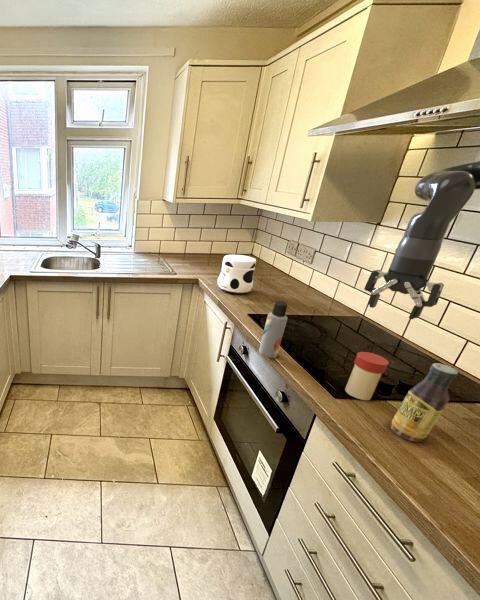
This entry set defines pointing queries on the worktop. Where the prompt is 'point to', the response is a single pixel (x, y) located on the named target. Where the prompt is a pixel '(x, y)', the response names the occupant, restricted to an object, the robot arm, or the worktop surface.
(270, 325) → the lotion bottle
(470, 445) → the worktop surface
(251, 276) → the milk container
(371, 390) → the jar
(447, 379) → the sauce bottle
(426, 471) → the worktop surface
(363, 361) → the jar lid
